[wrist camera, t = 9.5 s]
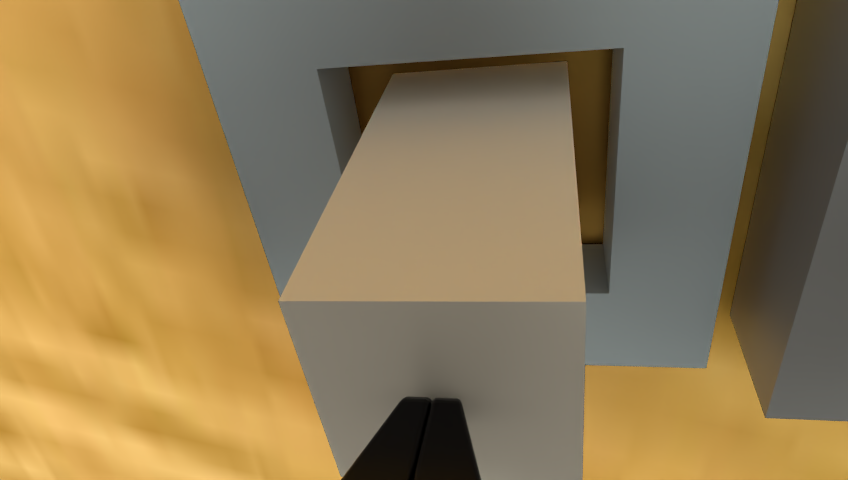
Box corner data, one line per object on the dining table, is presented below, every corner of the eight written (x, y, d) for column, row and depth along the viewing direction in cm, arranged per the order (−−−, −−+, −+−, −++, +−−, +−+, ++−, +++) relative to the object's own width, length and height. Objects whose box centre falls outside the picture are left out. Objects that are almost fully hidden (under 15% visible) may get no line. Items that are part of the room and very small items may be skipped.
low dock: (766, -139, 11) (803, -124, 10) (691, 314, 18) (706, 368, 16) (206, -72, 13) (161, -51, 12) (320, 310, 20) (300, 357, 18)
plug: (567, 61, 14) (586, 301, 8) (567, 211, 16) (582, 491, 10) (392, 73, 15) (278, 301, 8) (416, 214, 17) (340, 476, 11)
